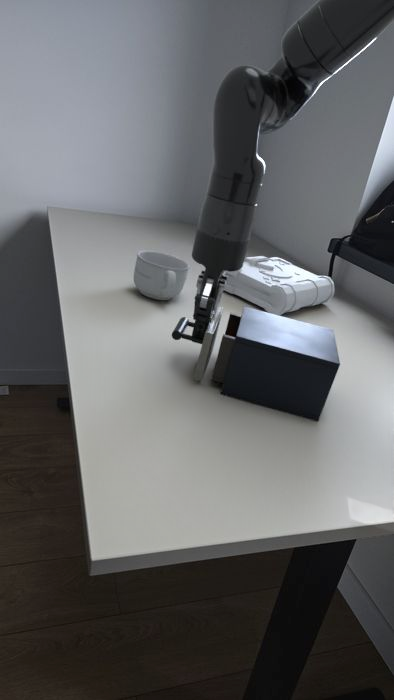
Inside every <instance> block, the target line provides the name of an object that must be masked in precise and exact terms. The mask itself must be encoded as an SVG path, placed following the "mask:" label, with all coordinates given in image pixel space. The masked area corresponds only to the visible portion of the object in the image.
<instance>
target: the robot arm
mask: <svg viewBox="0 0 394 700" xmlns="http://www.w3.org/2000/svg"><path fill="white" fill-rule="evenodd" d="M392 23H394V0H316V1H315V3H313V5H311V6H310V7H309V8H307V10H306V11H305V12H304V13H303V14H302V15H301V16H300V17H299V18H298V19H296V21H294V23H292V24H291V26H290V27H289V28H287V30H286V31H285V33H284V34H283V36H282V38H281V41H280V51H281V55H280V57H278V60H277V61H276V62H275V63H274V64H273V65H272V66H271V67H270V68H269V69H268V70H263V69H261V68H259V67H257V66H254V65H250V64H239V65H237V66H236V65H235V66H234V67H232V68H230V69H229V70H228V71H227V73H226V74H225V75H223V78H222V79H221V81H220V83H219V85H218V87H217V88H216V89H217V90H216V93H215V95H214V100H213V108H212V153H213V163H212V166H211V170H210V174H209V180H208V183H207V188H206V194H205V197H204V200H203V203H202V205H201V208H200V213H199V217H198V222H197V227H196V232H195V237H194V241H193V245H192V251H191V258H192V259H193V261H194V262H195V263H197V264H198V265H202V266H203V267H204V268H205V269H204V270H201V272H200V274H199V275H198V277H197V281H196V289H197V290H196V293H195V296H194V307H193V309H194V310H193V313H192V314H193V315H192V318H193V319H192V320H194V323H195V324H194V328H193V327H192V332H191V336H195V337H198V338H202V339H204V335H205V331H206V329H207V327H208V324H209V323H210V321H212V319H213V318H212V317H214V312H215V310H217V307H219V305H220V303H221V299H222V295H223V292H224V291H225V290H224V288H225V286H226V282H227V278H228V277H226V275H224V274H225V272H224V271H228V272H233V271H238V270H240V269H241V268H242V267H243V264H244V262H245V258H246V256H247V252H248V248H249V244H250V241H251V237H252V232H253V229H254V225H255V220H256V212H257V206H258V203H259V200H260V195H261V191H262V186H263V182H264V179H265V173H266V163H265V161H264V160H263V158H261V157H260V156H259V154H258V143H259V142H258V141H259V135H268V134H271V133H274V132H276V131H277V130H279V129H281V128H283V127H284V126H286V125H287V124H288V123H289V122H290V121H292V119H294V118H295V116H296V115H297V114H298V113H299V112H300V111H301V110H302V108H303V107H304V106H305V105H306V104H308V103H307V102H309V100H310V99H311V98H312V97H313V96H314V94H316V92H317V90H318V89H319V88H320V86H322V84H323V83H324V82H325V81H327V80H328V79H329V78H331V77H332V76H334V74H336V73H337V72H338V71H340V70H341V69H342V68H343V67H344V66H346V65H347V64H348V63H349V62H351V61H352V60H353V59H354V58H356V57H357V56H358V55H360V53H361V52H363V51H364V50H365V49H366V48H367V47H369V46H370V45H371V44H372V43H373V42H374V41H375V40H376V39H377V38H378V37H379V36H380V35H382V34H383V33H384V31H386V30H387V28H388V27H390V26H391V24H392ZM191 342H192V343H195V344H199V345H202V344H201V343H198V342H194V341H191Z"/></svg>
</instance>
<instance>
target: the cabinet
mask: <svg viewBox="0 0 394 700" xmlns="http://www.w3.org/2000/svg"><path fill="white" fill-rule="evenodd" d="M241 315H242V317H241V320H240V324H239V328H238V331H237V335H236V339H235V342H234V346H233V350H232V353H231V357H230V361H229V364H228V368H227V372H226V375H225V379H224V383H222V386H221V390H220V395H222V394H223V395H222V396H225V395H227V396H226V397H228V398H229V397H230V398H232V397H233V399H236V400H240V401H243V402H247V403H250V404H254V405H258V406H261V407H265V408H270V409H273V410H275V411H279V412H283V413H286V412H288V413H287V414H290V415H293V414H294V415H293V416H297V417H301V416H302V417H301V418H304V417H305V419H308V418H309V419H308V420H311V419H312V421H315V422H319V420H320V418H321V415H322V412H323V410H324V408H325V404H326V402H327V400H328V397H329V394H330V392H331V389H332V387H333V384H334V382H335V379H336V376H337V374H338V372H339V368H340V366H341V362H340V357H339V351H338V347H337V342H336V341H337V340H336V336H335V331H334V329H331V328H327V327H323V326H320V325H316V324H312V323H308V322H305V321H301V320H298V319H293V318H289V317H286V316H282V315H275V314H271V313H267V311H263V310H259V309H255V308H251V307H248V306H243V310H242V314H241Z"/></svg>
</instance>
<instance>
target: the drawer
mask: <svg viewBox="0 0 394 700" xmlns="http://www.w3.org/2000/svg"><path fill="white" fill-rule="evenodd" d="M223 311H224V307H221V306H218V307H217V310H215V312H214V317H212V318H213V319H212V321H210V323H209V324H208V327H207V329H206V331H205V335H204V339H202V338H198V337H195V336H192V334H187V333H185V331H186V330H187V328H188V327H190V328H192V329H193V328H194V324H195V322H192V321H190V320H189V318H188V317H185V316H183V317H180V318H179V321H178V322H177V324H176V325H175V327H174V329H173V330H172V332H171V338H172V339H173V340H175V341H179V340H181V339H183V340H186V341H191V342H192V341H194V342H193V343H195V342H198V343H197V344H199V343H201V344H200V345H201V347H200V352H199V355H198V360H197V364H196V369H195V373H194V376H193V380H196V381H199V382H202V381H203V379H204V376H205V373H206V370H207V368H208V365H209V362H210V359H211V356H212V353H213V351H214V347H215V344H216V339H217V335H218V331H219V328H220V325H221V324H220V323H221V320H222V317H223V316H222V315H223ZM241 317H242V314H238V313H234V312H230V313H229V317H228V321H227V324H226V328H225V332H224V333H223V334H222V337H221V340H220V345H219V348H218V353H217V357H216V360H215V364H214V367H213V372H212V376H211V381H214V382H218V383H222V384H223V383H224V379H225V375H226V372H227V368H228V364H229V361H230V357H231V353H232V350H233V346H234V342H235V339H236V335H237V331H238V328H239V324H240V320H241Z"/></svg>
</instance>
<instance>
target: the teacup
mask: <svg viewBox="0 0 394 700" xmlns="http://www.w3.org/2000/svg"><path fill="white" fill-rule="evenodd" d="M190 266H191V265H190V264H189V263H188V262H187V261H186V260H184V259H182V258H180V257H178V256H176V255H172V254H170V253H165V252H162V251H157V250H139V251H138V252H137V253H136V261H135V265H134V270H133V283H134V285H135V287H136V288H137V289H138V291H139V292H140V293H141V295H143V296H145V297H147V298H150V299H153V300H159V301H168V300H172V299H174V298H175V297H177V296H179V295H180V294H181V292H182V291H183V289H184V286H185V282H186V280H187V276H188V272H189V269H190Z"/></svg>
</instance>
